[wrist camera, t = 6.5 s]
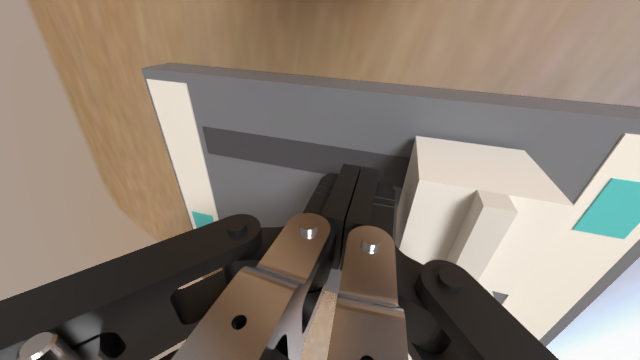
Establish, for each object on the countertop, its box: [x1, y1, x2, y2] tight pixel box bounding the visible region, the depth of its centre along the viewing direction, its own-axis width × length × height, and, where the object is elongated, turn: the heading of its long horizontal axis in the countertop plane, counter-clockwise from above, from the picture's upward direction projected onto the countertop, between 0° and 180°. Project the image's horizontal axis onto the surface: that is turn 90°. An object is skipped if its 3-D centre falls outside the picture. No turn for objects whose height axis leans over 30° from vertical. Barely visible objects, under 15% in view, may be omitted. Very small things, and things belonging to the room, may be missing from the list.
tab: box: [395, 136, 575, 295], centre depth 10 cm, size 4×4×4 cm
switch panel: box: [141, 63, 640, 347], centre depth 15 cm, size 14×24×2 cm, turn 88°
